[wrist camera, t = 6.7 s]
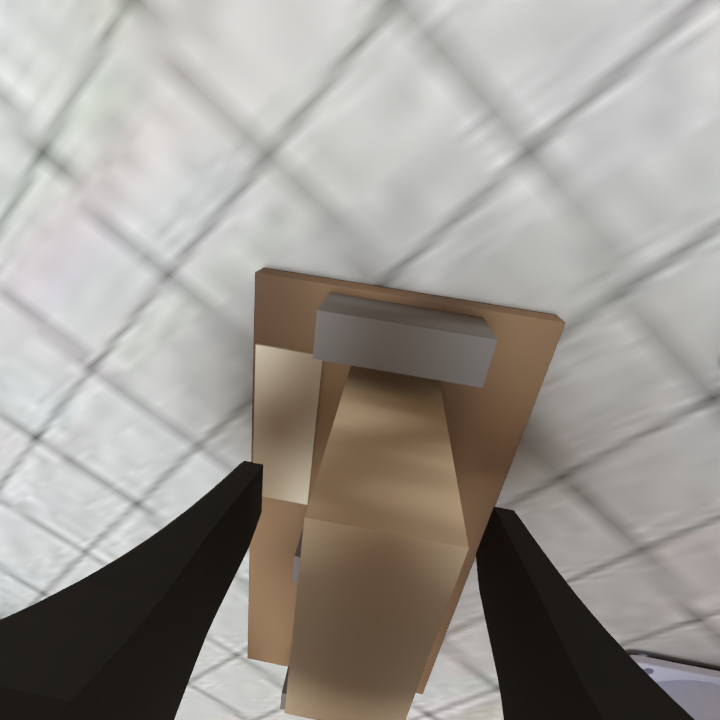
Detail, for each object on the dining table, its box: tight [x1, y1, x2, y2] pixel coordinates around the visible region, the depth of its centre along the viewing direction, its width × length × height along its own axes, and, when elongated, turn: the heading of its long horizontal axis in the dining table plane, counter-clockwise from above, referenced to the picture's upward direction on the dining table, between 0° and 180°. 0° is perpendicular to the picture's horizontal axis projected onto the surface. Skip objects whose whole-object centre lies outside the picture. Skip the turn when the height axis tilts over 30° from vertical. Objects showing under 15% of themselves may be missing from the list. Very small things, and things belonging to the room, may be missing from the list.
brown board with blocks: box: [248, 268, 565, 709], centre depth 16 cm, size 10×22×3 cm, turn 172°
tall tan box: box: [285, 365, 469, 720], centre depth 12 cm, size 3×7×7 cm, turn 172°
